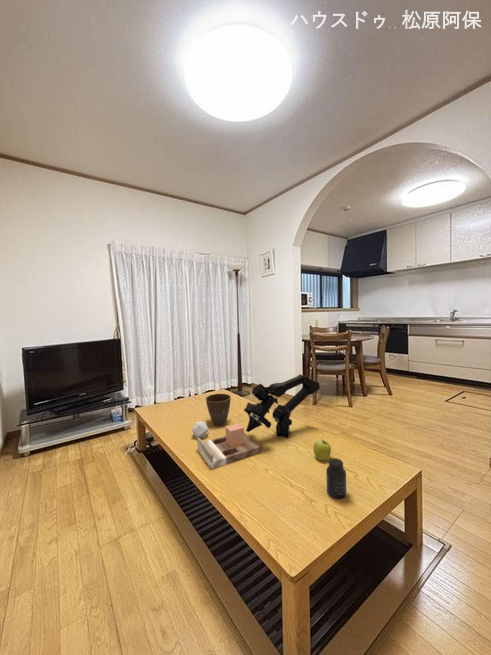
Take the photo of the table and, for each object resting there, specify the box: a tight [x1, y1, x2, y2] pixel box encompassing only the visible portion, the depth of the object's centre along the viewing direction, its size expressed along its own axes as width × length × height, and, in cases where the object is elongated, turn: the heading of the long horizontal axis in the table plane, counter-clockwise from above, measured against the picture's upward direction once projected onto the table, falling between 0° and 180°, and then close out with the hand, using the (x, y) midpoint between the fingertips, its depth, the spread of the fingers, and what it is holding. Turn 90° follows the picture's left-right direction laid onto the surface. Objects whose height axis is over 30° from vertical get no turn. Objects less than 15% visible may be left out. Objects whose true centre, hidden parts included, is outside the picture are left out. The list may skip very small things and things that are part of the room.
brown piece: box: [196, 432, 262, 470], centre depth 127 cm, size 25×19×6 cm
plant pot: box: [205, 393, 232, 427], centre depth 158 cm, size 15×15×16 cm
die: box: [191, 421, 209, 439], centre depth 143 cm, size 8×9×10 cm
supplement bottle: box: [325, 457, 347, 500], centre depth 95 cm, size 7×7×12 cm
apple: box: [313, 438, 332, 461], centre depth 118 cm, size 8×8×10 cm
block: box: [225, 423, 245, 448], centre depth 128 cm, size 7×6×8 cm
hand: (247, 431), depth 131 cm, fingers closed
